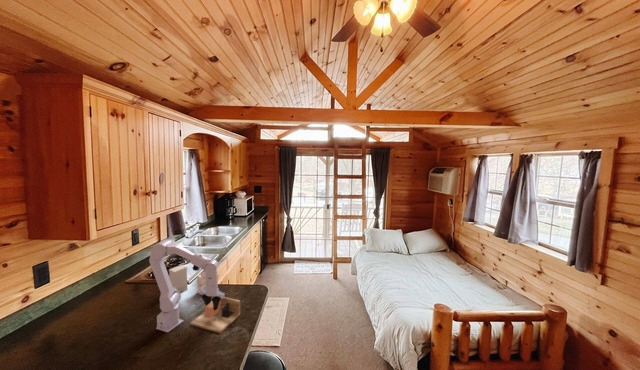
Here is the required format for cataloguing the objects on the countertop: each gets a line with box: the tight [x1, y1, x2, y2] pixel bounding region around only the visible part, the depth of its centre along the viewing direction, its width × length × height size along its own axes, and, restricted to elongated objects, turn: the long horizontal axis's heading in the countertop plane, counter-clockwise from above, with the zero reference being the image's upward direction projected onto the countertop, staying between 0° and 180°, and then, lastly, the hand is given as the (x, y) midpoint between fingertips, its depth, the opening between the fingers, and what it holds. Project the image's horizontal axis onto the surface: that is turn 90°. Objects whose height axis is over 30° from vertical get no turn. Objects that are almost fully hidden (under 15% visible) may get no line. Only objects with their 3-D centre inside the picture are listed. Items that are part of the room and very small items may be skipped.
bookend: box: [221, 303, 234, 318], centre depth 134 cm, size 5×4×5 cm
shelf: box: [190, 296, 241, 334], centre depth 131 cm, size 16×18×8 cm
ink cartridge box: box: [196, 271, 206, 296], centre depth 159 cm, size 9×5×15 cm, turn 143°
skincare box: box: [168, 264, 189, 294], centre depth 158 cm, size 8×7×16 cm
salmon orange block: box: [204, 301, 221, 317], centre depth 129 cm, size 7×4×5 cm, turn 162°
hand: (212, 308), depth 129 cm, fingers closed on salmon orange block, 4 cm apart
